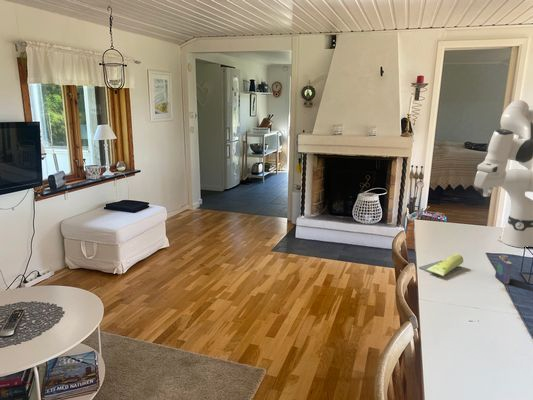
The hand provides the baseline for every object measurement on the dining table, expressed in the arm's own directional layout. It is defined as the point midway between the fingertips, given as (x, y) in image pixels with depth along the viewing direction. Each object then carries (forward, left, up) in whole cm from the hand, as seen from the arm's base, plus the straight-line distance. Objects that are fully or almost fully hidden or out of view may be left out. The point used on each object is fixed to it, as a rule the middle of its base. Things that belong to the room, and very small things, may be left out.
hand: (486, 196), depth 182 cm
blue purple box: (+20, +13, -30) cm, 39 cm away
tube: (+16, -5, -27) cm, 31 cm away
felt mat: (+24, -10, -30) cm, 40 cm away
